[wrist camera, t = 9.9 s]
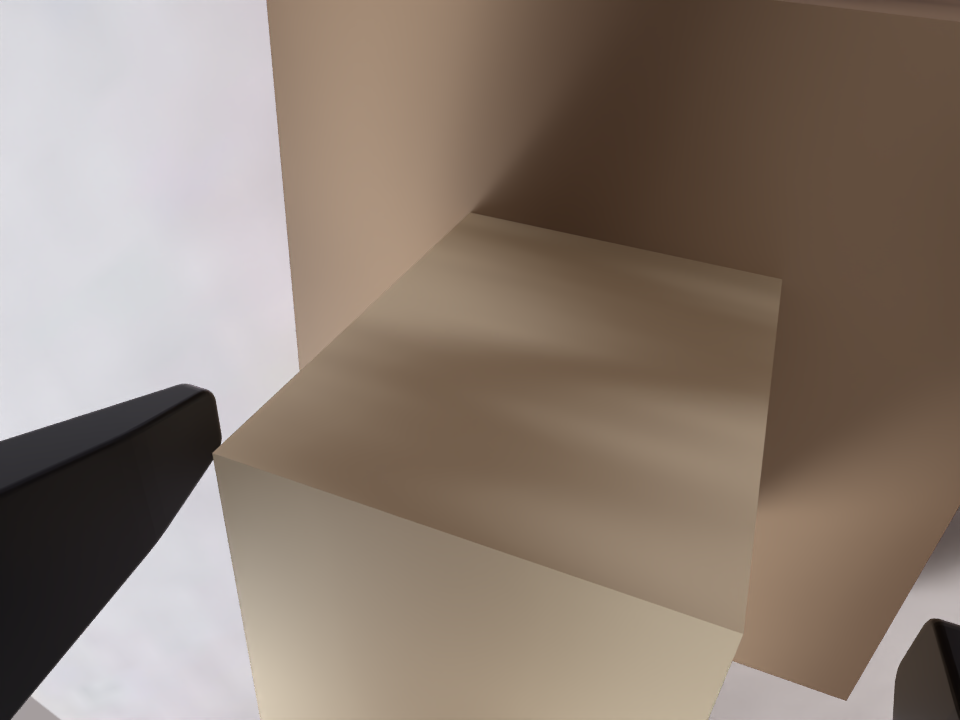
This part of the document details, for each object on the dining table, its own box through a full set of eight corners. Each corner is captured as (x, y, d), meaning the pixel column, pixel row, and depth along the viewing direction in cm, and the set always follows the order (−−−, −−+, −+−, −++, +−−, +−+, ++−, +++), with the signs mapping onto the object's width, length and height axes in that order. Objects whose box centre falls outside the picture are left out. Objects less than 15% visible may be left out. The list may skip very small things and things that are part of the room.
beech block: (781, 279, 10) (743, 634, 5) (704, 518, 13) (631, 903, 8) (469, 212, 11) (212, 453, 6) (456, 443, 14) (263, 736, 9)
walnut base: (1138, 16, 9) (1223, 52, 7) (844, 596, 15) (846, 700, 13) (351, -69, 12) (261, -60, 10) (367, 445, 18) (312, 513, 16)
